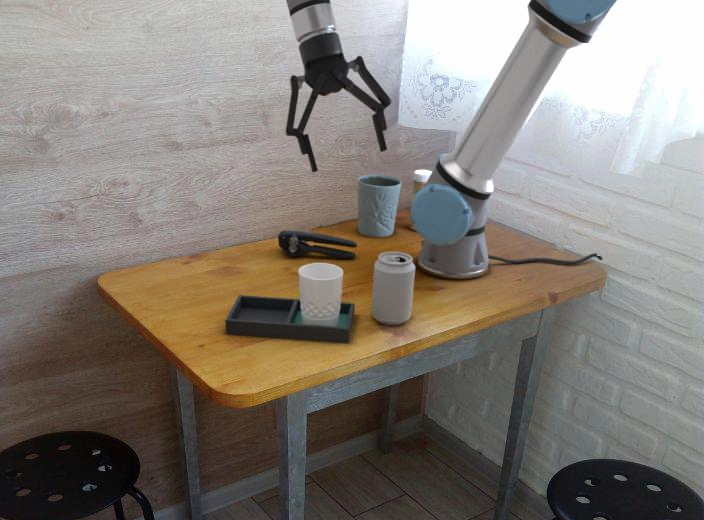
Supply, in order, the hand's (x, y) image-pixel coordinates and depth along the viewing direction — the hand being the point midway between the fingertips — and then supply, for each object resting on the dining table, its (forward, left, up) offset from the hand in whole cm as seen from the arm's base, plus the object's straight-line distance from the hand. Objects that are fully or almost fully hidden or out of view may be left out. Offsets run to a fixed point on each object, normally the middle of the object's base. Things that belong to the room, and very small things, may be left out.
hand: (349, 161), depth 144 cm
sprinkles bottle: (-14, -37, -24) cm, 47 cm away
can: (-10, +16, -24) cm, 31 cm away
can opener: (+8, -14, -24) cm, 29 cm away
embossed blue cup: (-4, -33, -24) cm, 41 cm away
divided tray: (+8, +22, -24) cm, 33 cm away
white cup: (+2, +22, -23) cm, 32 cm away
